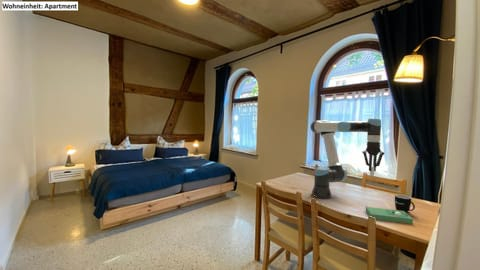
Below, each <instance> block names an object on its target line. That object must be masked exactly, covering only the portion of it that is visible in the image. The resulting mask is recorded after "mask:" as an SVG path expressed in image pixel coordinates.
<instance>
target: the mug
mask: <svg viewBox="0 0 480 270" xmlns="http://www.w3.org/2000/svg"><path fill="white" fill-rule="evenodd" d="M411 205H412V209H411ZM394 207H395V210H399V211H405V212H406V213H407V214H408V213H409V211H410V212H413V211H414V210H415V209H416V205H415V204H414V202H413V201H412V196H409V195H406V194H400V193H399V194H398V193H397V194H394Z"/></svg>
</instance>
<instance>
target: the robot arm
mask: <svg viewBox="0 0 480 270" xmlns="http://www.w3.org/2000/svg"><path fill="white" fill-rule="evenodd" d="M309 128H310V130H311V132H312V133H314V134H319V135H320V136H321V138H322V139H323V143H324V148H325V153H326V158H327V164H328V165H327V166H318V167H316V168H315V169H314V173H313V175H314V178H313V179H314V180H313V181H314V185H313V187H312V191H311V195H312V194H313V195H315V196H317V197H320V198H319V199H323V198H327V199H331V198H332V191H331V189H330V184H332V183H340V182H344V181H345V180H346V179H347V176H348V172H347V170H346V169H345V167H343V165H342V164H341V163H340V160H339V155H338V150H337V146H336V145H337V144H336V141H335V135H336V133H366V134H367V137H366V140H367V141H366V148H365V150H362V151H361V153H362V154H363V157H364V161H365V165H366V166H367V167H368V171H369V172H370V173H369V176H370V177H374V175H375V172H376V170H377V167H380V165H381V163H382V158H383V156H384V155H385V152H384V151H382V150H381V136H382V135H381V130H382V120H381V118H368V119H367V121H363V120H362V121H361V120H359V121H358V120H357V121H353V120H352V121H350V120H348V121H347V120H342V121H334V120H329V119H327V120H323V119H322V120H321V119H320V120H314V121H312V122H311V123H310V127H309ZM367 154H368V155H367ZM377 157H378V158H377ZM313 195H312V196H313ZM317 197H316V198H317Z"/></svg>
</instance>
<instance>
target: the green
mask: <svg viewBox="0 0 480 270" xmlns="http://www.w3.org/2000/svg"><path fill="white" fill-rule="evenodd" d="M365 212H366V214H367V216H368V217H369V216H372V217H375V218H376V219H375V220H378V221H386V222H387V221H388V222H394V223H402V224H409V225H411V224H413V223H414V222H413V221H414V220H413V218H412V217H411V215H409V214H408V212H407V213H406V212H405V211H399V210H396V209H390V208H389V209H388V208H382V207H381V208H379V207H370V206H365ZM395 212H400V213H401V214H402V215H401V216H400V215H395V214H394V213H395Z"/></svg>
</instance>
